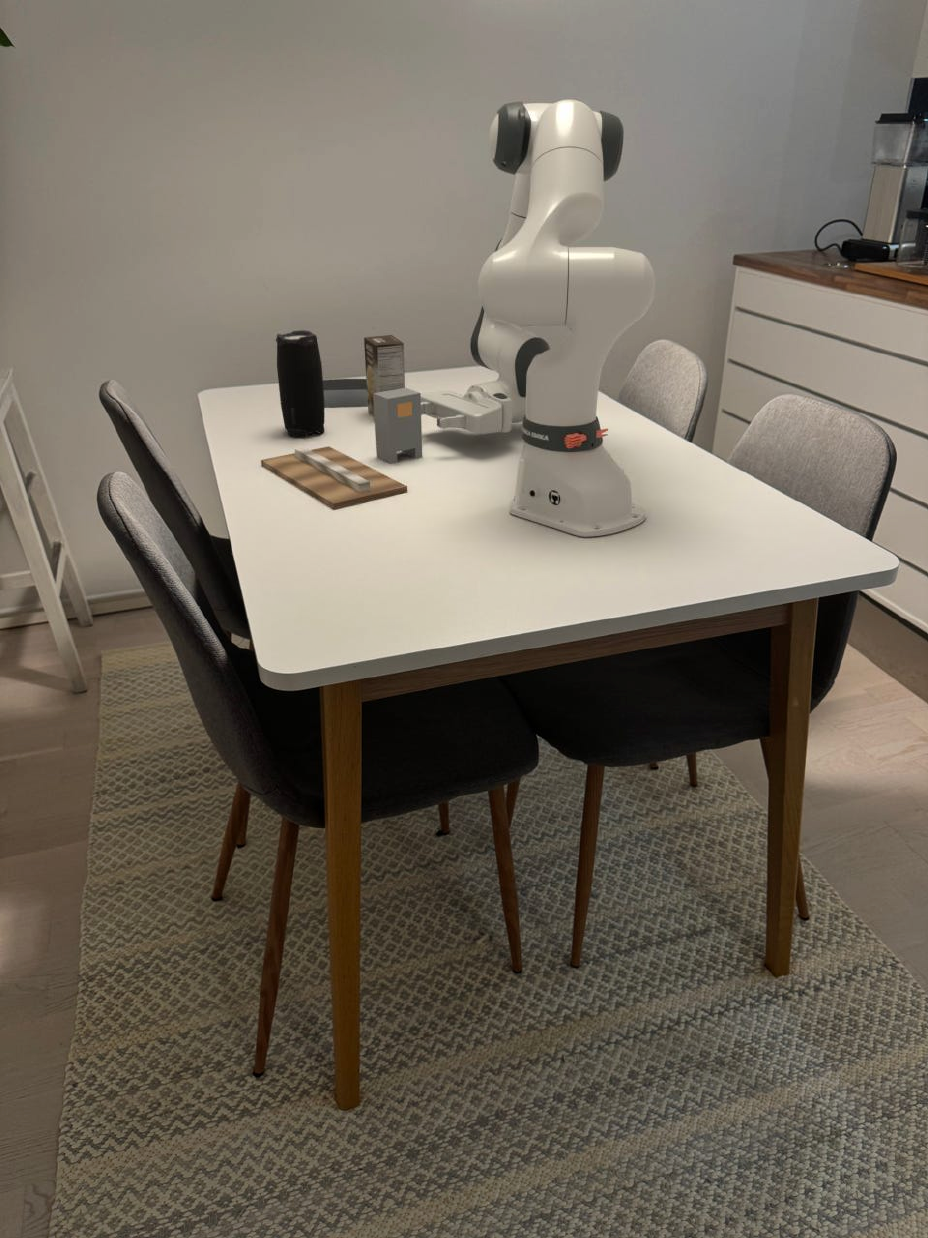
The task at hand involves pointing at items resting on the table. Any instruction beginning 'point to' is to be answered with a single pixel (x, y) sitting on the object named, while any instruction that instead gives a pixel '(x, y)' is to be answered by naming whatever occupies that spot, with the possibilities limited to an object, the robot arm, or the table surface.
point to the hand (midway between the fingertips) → (424, 417)
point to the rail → (333, 477)
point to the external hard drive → (345, 393)
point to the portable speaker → (300, 383)
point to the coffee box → (383, 366)
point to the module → (397, 424)
